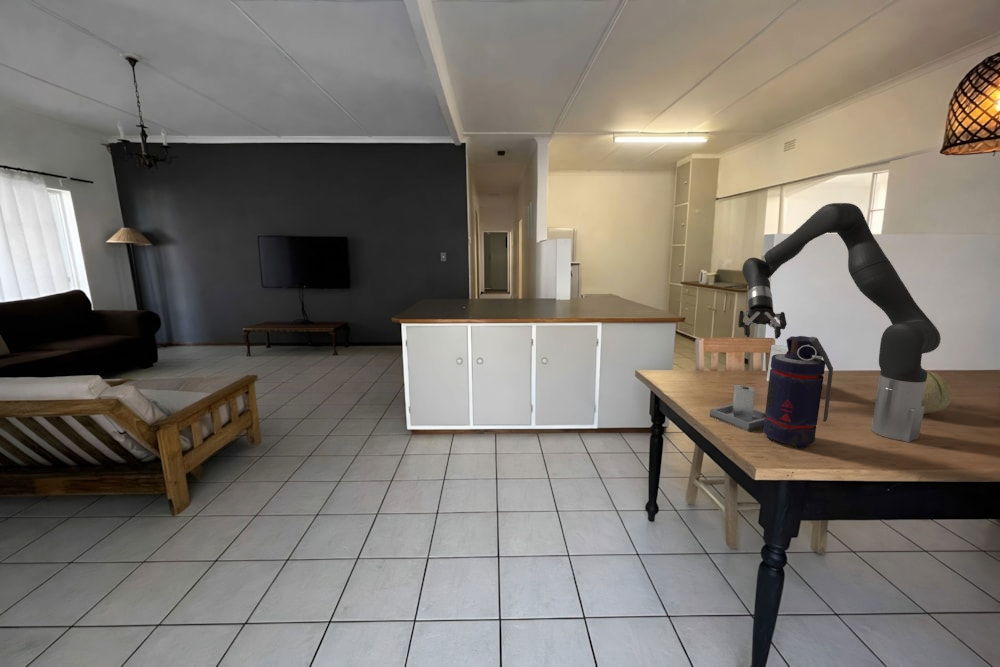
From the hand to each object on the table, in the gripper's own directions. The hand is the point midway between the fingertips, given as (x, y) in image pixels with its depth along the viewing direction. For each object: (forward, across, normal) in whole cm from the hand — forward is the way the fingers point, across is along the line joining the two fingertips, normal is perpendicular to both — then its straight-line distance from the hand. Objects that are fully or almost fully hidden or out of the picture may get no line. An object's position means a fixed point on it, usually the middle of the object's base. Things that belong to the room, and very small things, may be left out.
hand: (762, 336), depth 137 cm
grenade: (+40, +4, -5) cm, 40 cm away
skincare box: (+1, +15, +34) cm, 37 cm away
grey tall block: (+31, -7, +2) cm, 32 cm away
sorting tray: (+32, -7, +3) cm, 32 cm away
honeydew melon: (+11, +46, +24) cm, 53 cm away
